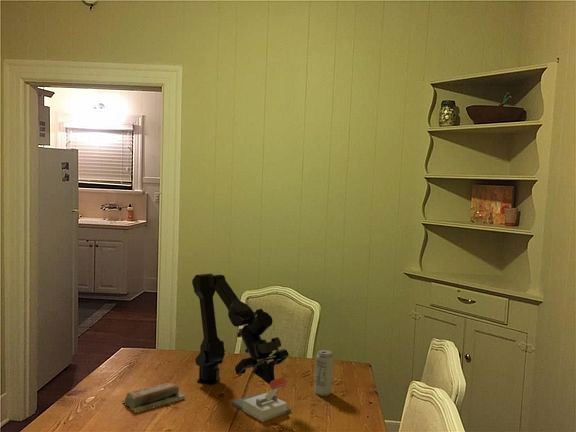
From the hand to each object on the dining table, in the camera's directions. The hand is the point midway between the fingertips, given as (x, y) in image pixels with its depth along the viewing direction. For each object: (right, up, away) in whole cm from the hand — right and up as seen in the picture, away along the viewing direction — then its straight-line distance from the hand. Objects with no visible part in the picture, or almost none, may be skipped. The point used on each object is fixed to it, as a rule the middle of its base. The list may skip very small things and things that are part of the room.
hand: (273, 385), depth 167 cm
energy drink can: (+17, -9, +21) cm, 28 cm away
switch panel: (-4, -9, +6) cm, 12 cm away
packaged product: (-40, -8, +9) cm, 42 cm away
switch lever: (-2, -5, +3) cm, 6 cm away
